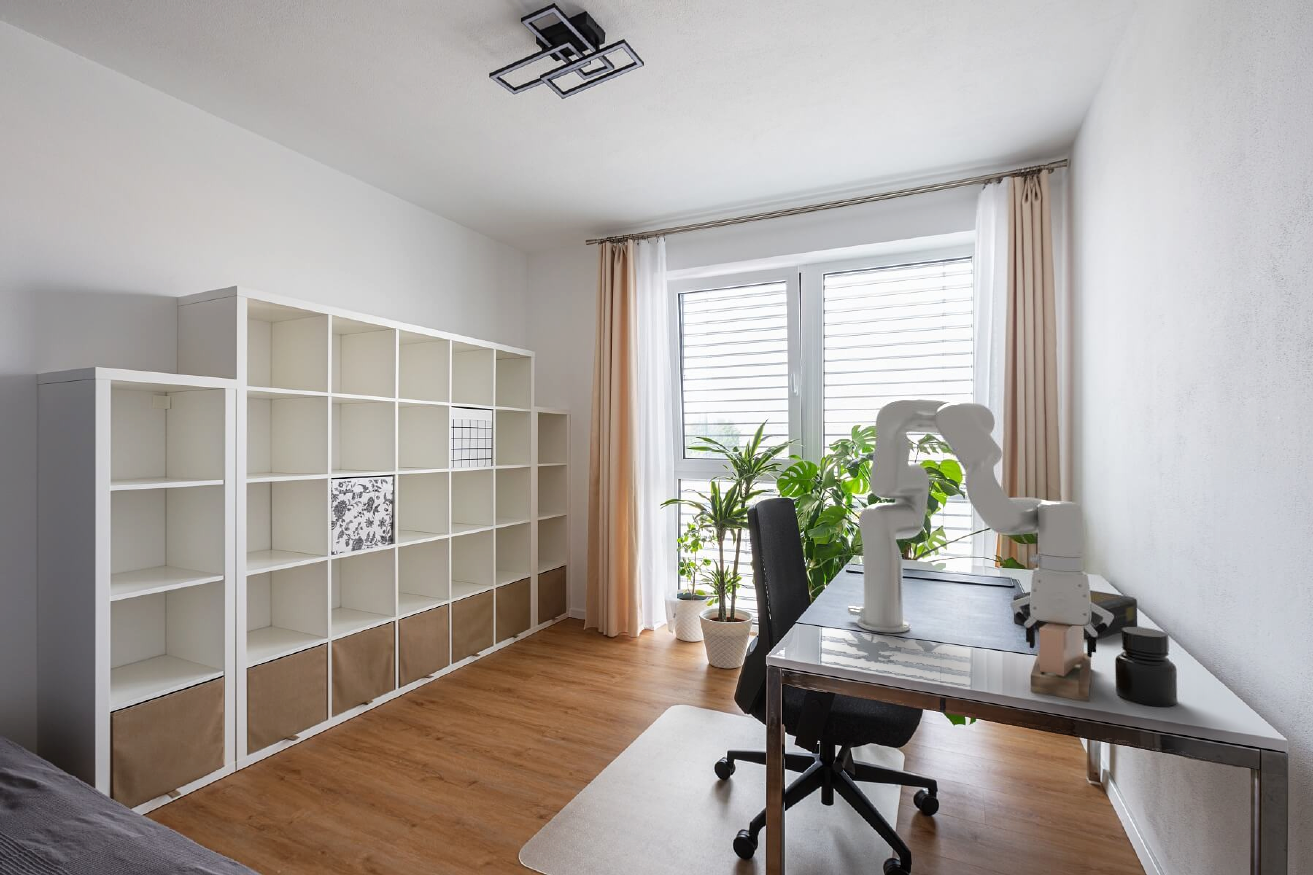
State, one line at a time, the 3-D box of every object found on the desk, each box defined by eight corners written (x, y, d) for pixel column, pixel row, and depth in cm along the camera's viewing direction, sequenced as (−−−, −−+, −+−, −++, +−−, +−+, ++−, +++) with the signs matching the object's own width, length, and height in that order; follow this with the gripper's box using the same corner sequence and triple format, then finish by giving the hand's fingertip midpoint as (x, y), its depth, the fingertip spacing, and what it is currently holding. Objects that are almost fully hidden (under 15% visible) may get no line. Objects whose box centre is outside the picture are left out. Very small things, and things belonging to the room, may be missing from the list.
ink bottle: (1192, 706, 114) (1191, 637, 114) (1151, 710, 112) (1150, 640, 112) (1140, 687, 123) (1139, 623, 124) (1102, 690, 121) (1100, 626, 122)
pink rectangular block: (1039, 671, 123) (1039, 628, 124) (1061, 653, 135) (1060, 614, 135) (1064, 676, 120) (1063, 632, 121) (1083, 657, 132) (1083, 617, 132)
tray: (1030, 691, 121) (1030, 674, 121) (1040, 660, 139) (1040, 646, 139) (1088, 701, 116) (1088, 684, 116) (1090, 668, 134) (1090, 654, 134)
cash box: (1057, 611, 185) (1057, 584, 185) (1140, 627, 168) (1139, 597, 168) (1008, 623, 172) (1008, 594, 172) (1093, 642, 154) (1092, 609, 155)
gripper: (1008, 561, 130) (1008, 647, 130) (1113, 571, 120) (1114, 664, 120) (1012, 556, 136) (1012, 638, 136) (1113, 565, 126) (1113, 654, 126)
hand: (1060, 650), depth 128 cm, fingers open, 9 cm apart
